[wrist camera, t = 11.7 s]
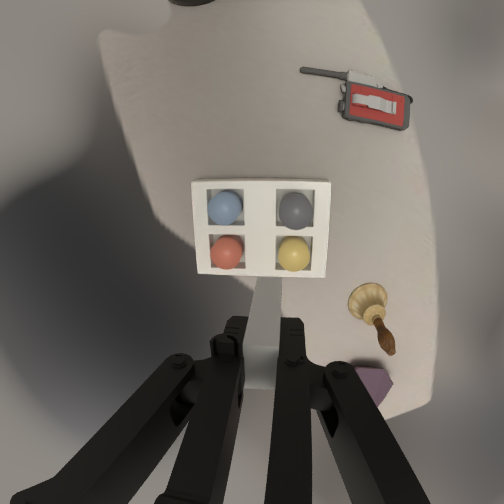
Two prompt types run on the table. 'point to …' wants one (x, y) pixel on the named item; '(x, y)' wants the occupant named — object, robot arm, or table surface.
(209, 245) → the console
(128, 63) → the table surface
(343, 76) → the walkie-talkie
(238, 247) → the button brick
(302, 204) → the button charcoal
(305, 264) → the button mustard
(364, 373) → the flask
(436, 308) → the table surface
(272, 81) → the table surface
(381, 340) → the hand bell
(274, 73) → the table surface
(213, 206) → the button slate
